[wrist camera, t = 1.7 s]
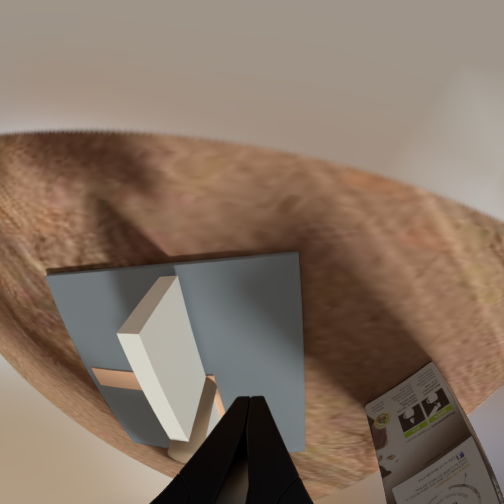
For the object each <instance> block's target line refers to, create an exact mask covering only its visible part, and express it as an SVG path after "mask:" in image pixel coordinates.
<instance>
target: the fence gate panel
mask: <svg viewBox="0 0 504 504" xmlns="http://www.w3.org/2000/svg"><path fill="white" fill-rule="evenodd" d="M117 336H118V338H119V341H120V343H121V345H122V348H123V350H124V352H125V354H126V357H127V359H128V361H129V363H130V365H131V367H132V370H133V372H134V374H135V376H136V378H137V380H138V382H139V384H140V386H141V388H142V390H143V392H144V394H145V396H146V398H147V400H148V401H149V403H150V405H151V407H152V409H153V411H154V412H155V414H156V416H157V418H158V420H159V421H160V423H161V425H162V426H163V428H164V430H165V432H166V433H167V435H168V436H169V438H170V440H178V441H187V442H189V439H190V435H191V431H192V427H193V423H194V420H195V416H196V412H197V409H198V405H199V401H200V397H201V394H202V390H203V386H204V383H205V379H206V376H205V372H204V369H203V366H202V363H201V359H200V356H199V353H198V349H197V346H196V343H195V339H194V336H193V332H192V329H191V325H190V321H189V318H188V314H187V310H186V307H185V303H184V299H183V295H182V291H181V287H180V283H179V279H178V275H177V276H164V277H159V278H158V280H157V281H156V282H155V283H154V285H153V286H152V287H151V289H150V290H149V291H148V292H147V294H146V295H145V296H144V298H143V299H142V300H141V301H140V303H139V304H138V305H137V307H136V308H135V309H134V311H133V312H132V313H131V315H130V316H129V317H128V319H127V320H126V321H125V323H124V324H123V325H122V327H121V328H120V329H119V331H118V332H117Z"/></svg>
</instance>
